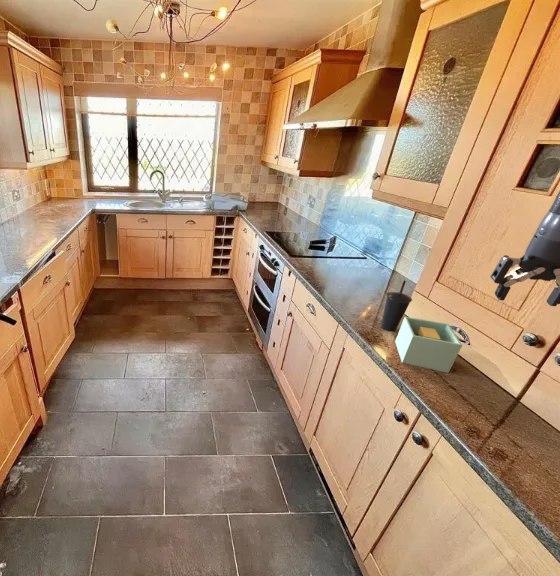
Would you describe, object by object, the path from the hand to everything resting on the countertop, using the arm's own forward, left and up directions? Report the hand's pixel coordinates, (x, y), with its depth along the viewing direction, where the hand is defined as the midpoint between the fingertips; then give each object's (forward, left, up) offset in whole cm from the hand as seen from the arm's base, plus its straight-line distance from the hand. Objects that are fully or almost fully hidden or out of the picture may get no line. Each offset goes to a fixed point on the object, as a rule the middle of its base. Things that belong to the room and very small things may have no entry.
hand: (524, 301), depth 70 cm
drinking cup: (+14, -34, -32) cm, 49 cm away
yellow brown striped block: (+7, -19, -32) cm, 37 cm away
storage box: (+7, -19, -32) cm, 38 cm away
